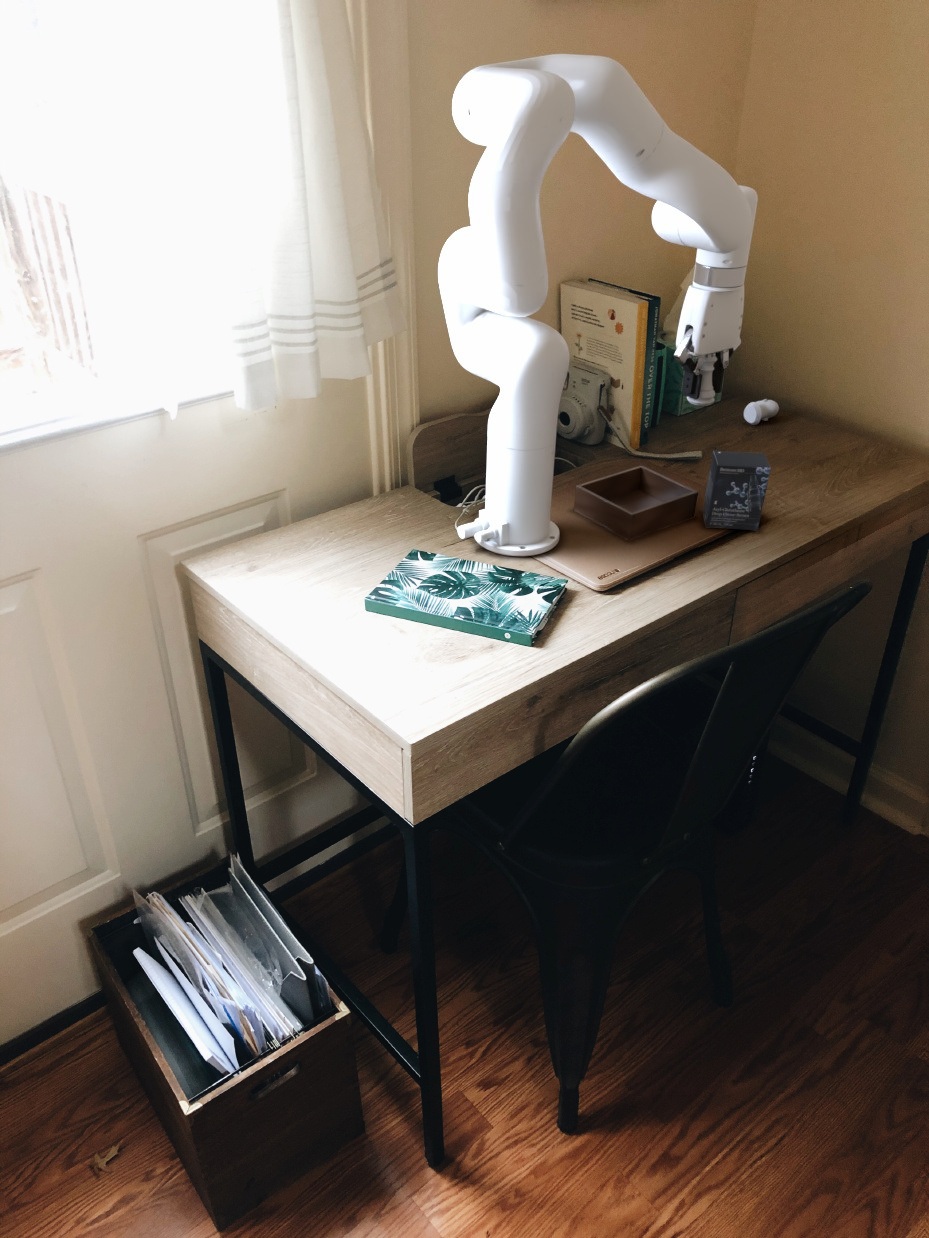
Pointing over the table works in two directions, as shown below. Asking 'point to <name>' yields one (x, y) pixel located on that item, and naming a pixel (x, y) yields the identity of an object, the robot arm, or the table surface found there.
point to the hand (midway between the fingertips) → (701, 392)
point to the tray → (635, 502)
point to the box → (736, 490)
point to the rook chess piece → (706, 382)
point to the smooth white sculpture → (760, 411)
